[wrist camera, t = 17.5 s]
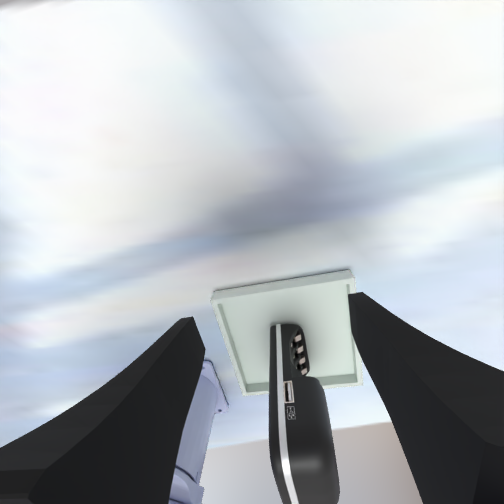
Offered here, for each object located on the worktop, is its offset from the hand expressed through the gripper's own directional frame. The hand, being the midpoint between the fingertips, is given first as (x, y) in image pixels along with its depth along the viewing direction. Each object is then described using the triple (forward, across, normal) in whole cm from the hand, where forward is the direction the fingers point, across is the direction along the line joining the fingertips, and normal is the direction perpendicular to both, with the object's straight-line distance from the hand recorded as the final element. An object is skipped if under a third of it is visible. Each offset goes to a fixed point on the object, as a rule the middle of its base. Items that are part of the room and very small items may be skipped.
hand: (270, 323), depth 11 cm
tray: (+10, 0, +10) cm, 14 cm away
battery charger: (+10, 0, +11) cm, 15 cm away
